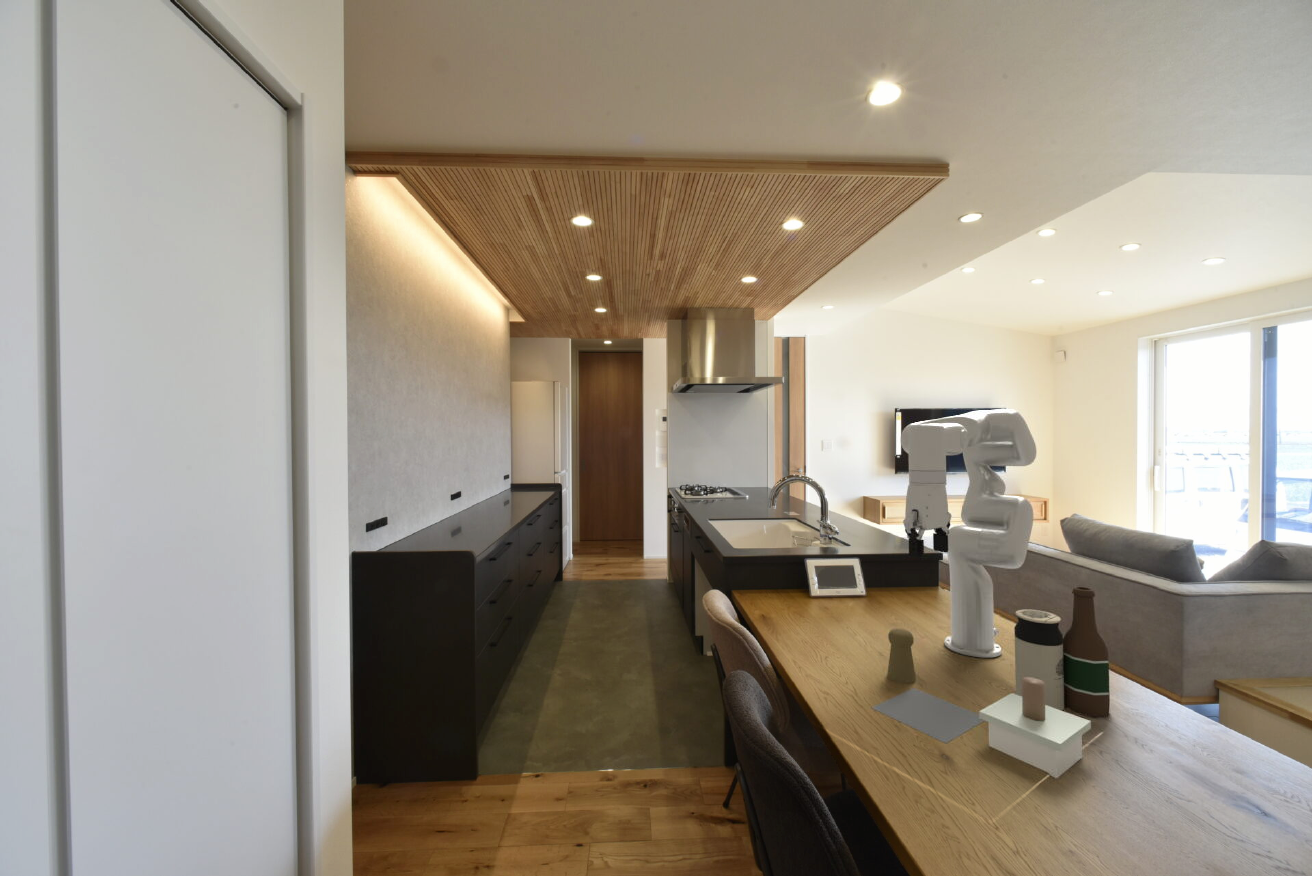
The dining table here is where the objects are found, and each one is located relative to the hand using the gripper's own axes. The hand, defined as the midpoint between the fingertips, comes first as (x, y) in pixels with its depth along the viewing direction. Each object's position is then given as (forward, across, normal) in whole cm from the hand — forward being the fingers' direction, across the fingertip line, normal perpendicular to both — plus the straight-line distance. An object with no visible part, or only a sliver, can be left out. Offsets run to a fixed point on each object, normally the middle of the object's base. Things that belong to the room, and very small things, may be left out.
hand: (928, 554), depth 117 cm
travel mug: (+28, -8, +18) cm, 35 cm away
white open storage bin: (+28, +12, +25) cm, 40 cm away
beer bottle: (+28, -13, +24) cm, 39 cm away
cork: (+28, +5, -4) cm, 29 cm away
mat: (+28, +15, +8) cm, 33 cm away
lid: (+23, +12, +25) cm, 36 cm away
